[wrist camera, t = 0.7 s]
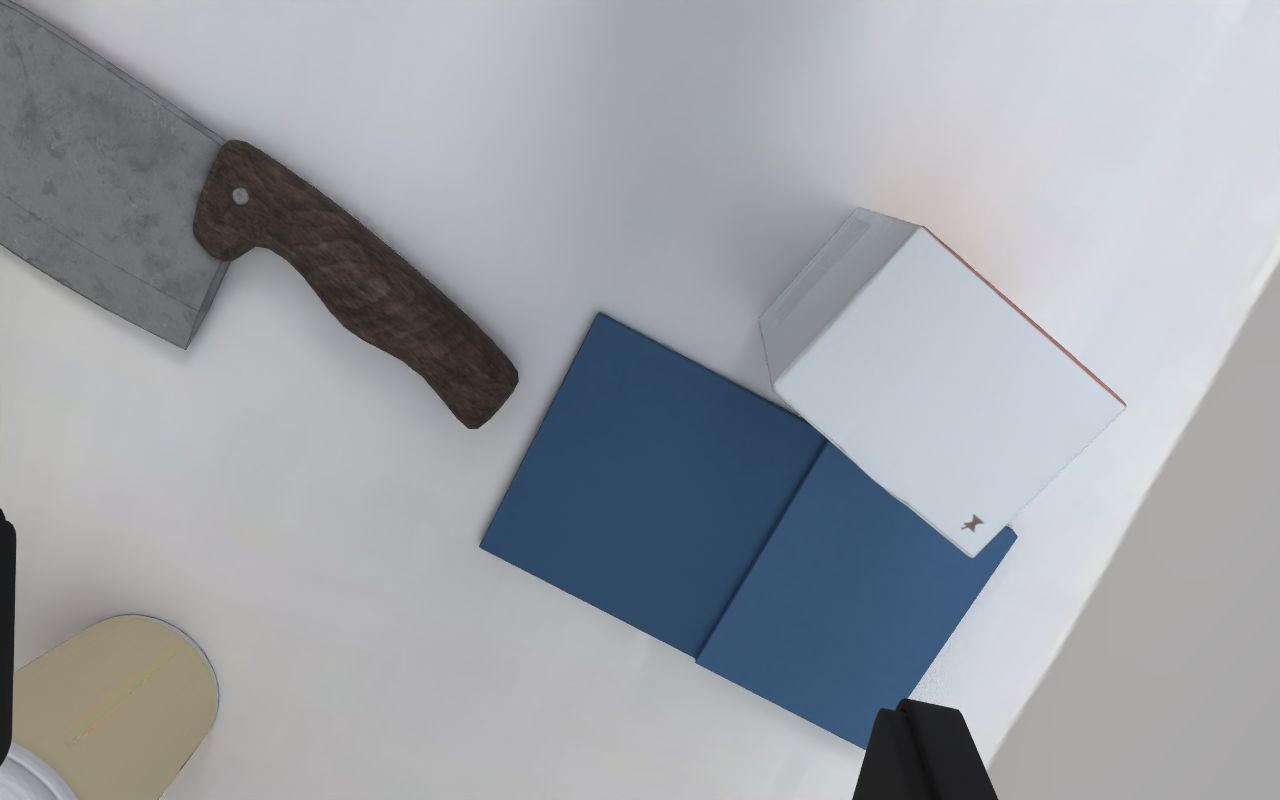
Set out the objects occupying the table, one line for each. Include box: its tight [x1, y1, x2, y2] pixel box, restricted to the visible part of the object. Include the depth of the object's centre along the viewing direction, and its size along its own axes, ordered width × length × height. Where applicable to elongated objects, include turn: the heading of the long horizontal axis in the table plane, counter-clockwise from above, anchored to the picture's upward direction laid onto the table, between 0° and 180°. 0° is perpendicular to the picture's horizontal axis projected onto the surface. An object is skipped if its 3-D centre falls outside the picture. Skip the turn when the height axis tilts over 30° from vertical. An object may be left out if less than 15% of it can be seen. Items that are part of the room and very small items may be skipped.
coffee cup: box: [0, 615, 219, 800], centre depth 41 cm, size 9×9×12 cm
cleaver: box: [0, 0, 519, 429], centre depth 40 cm, size 29×10×2 cm, turn 59°
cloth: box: [479, 312, 1018, 750], centre depth 42 cm, size 12×20×1 cm, turn 63°
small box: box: [759, 207, 1126, 558], centre depth 34 cm, size 8×6×13 cm
